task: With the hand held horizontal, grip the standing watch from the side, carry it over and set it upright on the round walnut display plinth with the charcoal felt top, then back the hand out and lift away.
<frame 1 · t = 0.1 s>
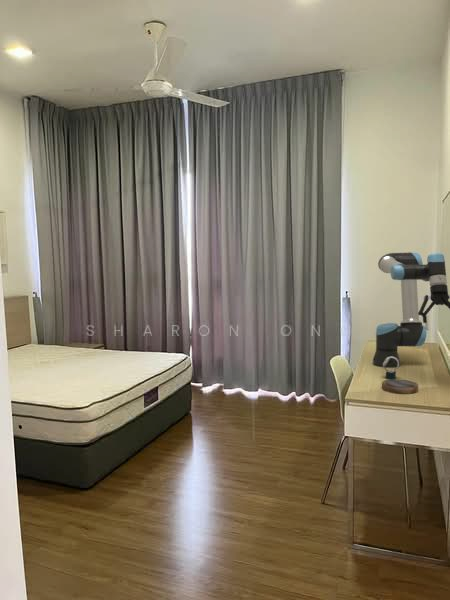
hand: (442, 329, 222), 28 cm above the table, tool tilted 20°, fingers open, 13 cm apart
watch: (390, 378, 245), on the table
plinth: (399, 389, 225), on the table
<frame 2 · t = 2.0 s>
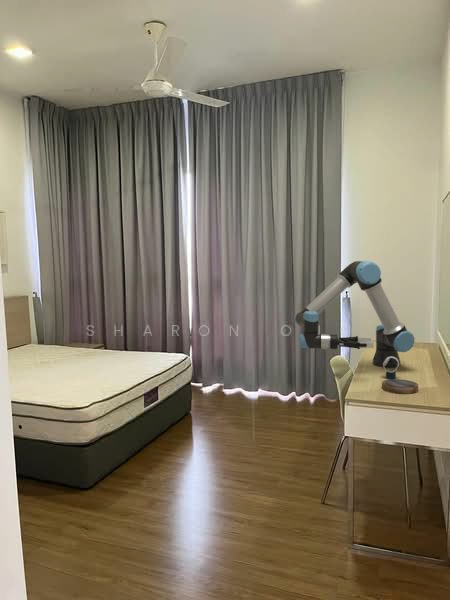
hand: (372, 342, 245), 18 cm above the table, tool horizontal, fingers open, 13 cm apart
nothing on the table moved.
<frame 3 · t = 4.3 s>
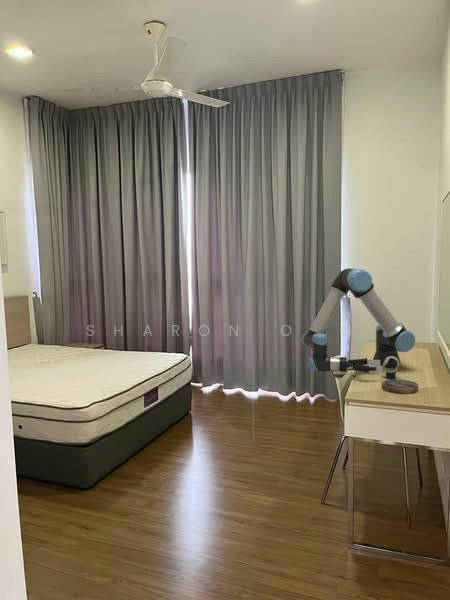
hand: (381, 365, 245), 6 cm above the table, tool horizontal, fingers open, 13 cm apart
nothing on the table moved.
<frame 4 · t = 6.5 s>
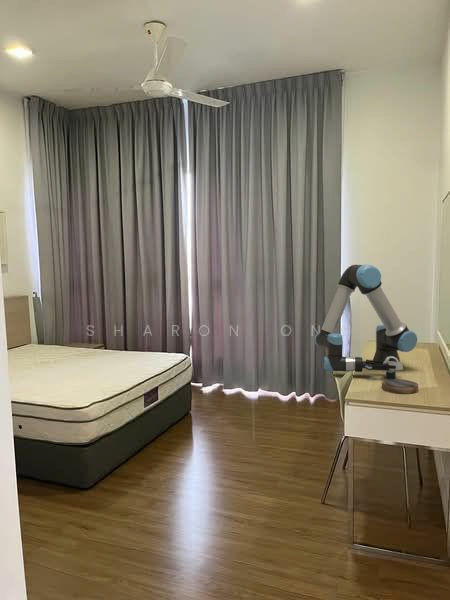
hand: (401, 365, 243), 7 cm above the table, tool horizontal, fingers closed on watch, 5 cm apart
watch: (390, 378, 245), on the table, touching gripper
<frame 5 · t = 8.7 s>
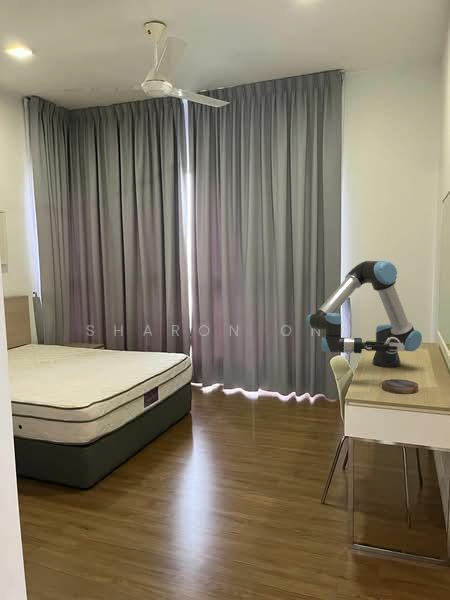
hand: (403, 347, 230), 19 cm above the table, tool horizontal, fingers closed on watch, 5 cm apart
watch: (391, 360, 231), point 12 cm above the table, touching gripper
when the fingers open (11 cm above the table, at t = 11.1 s): watch drops 1 cm, resting on plinth.
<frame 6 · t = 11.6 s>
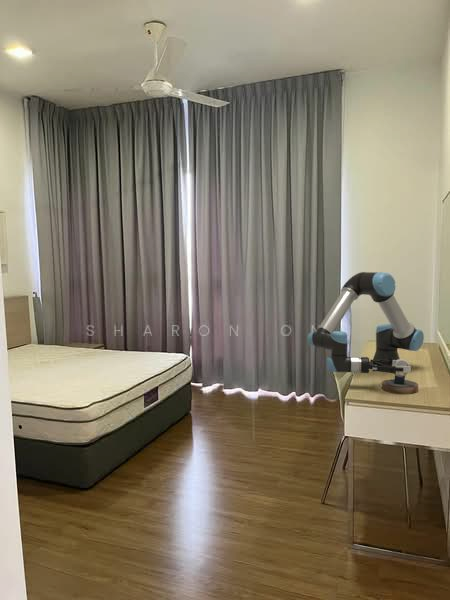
hand: (408, 366, 223), 11 cm above the table, tool horizontal, fingers open, 11 cm apart
watch: (399, 382, 224), point 3 cm above the table, touching plinth
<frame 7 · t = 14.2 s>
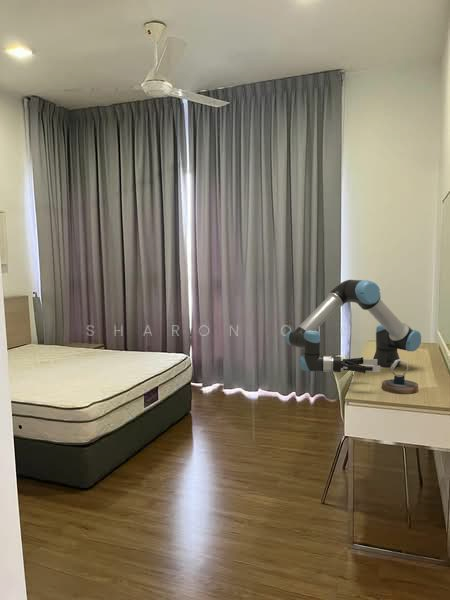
hand: (378, 365, 226), 11 cm above the table, tool horizontal, fingers open, 13 cm apart
nothing on the table moved.
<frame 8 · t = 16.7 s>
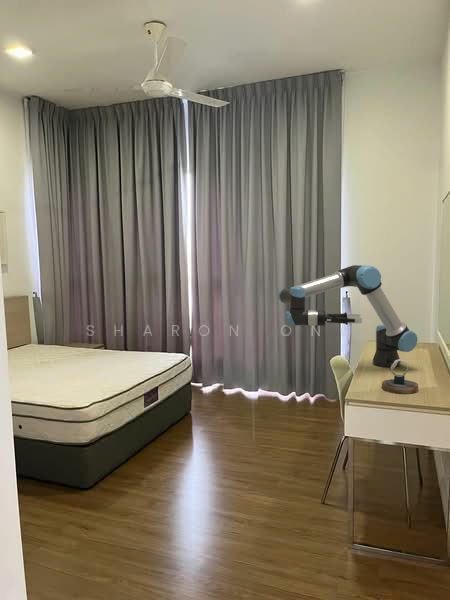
hand: (361, 318, 235), 32 cm above the table, tool horizontal, fingers open, 13 cm apart
nothing on the table moved.
at the end: watch inside the target area on the plinth (0.4 cm from its centre), point 2.8 cm above the plinth's base; watch tilted 0°; the gripper is holding nothing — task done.
